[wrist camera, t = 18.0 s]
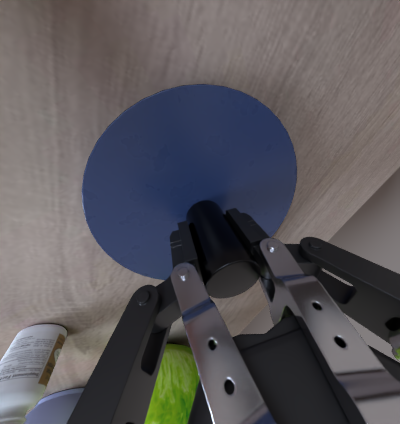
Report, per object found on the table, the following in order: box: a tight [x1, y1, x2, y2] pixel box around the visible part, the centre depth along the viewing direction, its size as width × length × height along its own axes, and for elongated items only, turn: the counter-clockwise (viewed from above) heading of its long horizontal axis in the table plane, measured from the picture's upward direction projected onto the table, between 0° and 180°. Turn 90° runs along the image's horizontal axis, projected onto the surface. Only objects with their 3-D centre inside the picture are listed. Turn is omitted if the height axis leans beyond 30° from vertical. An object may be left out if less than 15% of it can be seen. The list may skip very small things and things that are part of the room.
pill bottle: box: [0, 324, 67, 424], centre depth 14 cm, size 4×4×8 cm
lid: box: [82, 84, 297, 298], centre depth 11 cm, size 17×17×7 cm
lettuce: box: [144, 344, 200, 424], centre depth 22 cm, size 17×20×17 cm
